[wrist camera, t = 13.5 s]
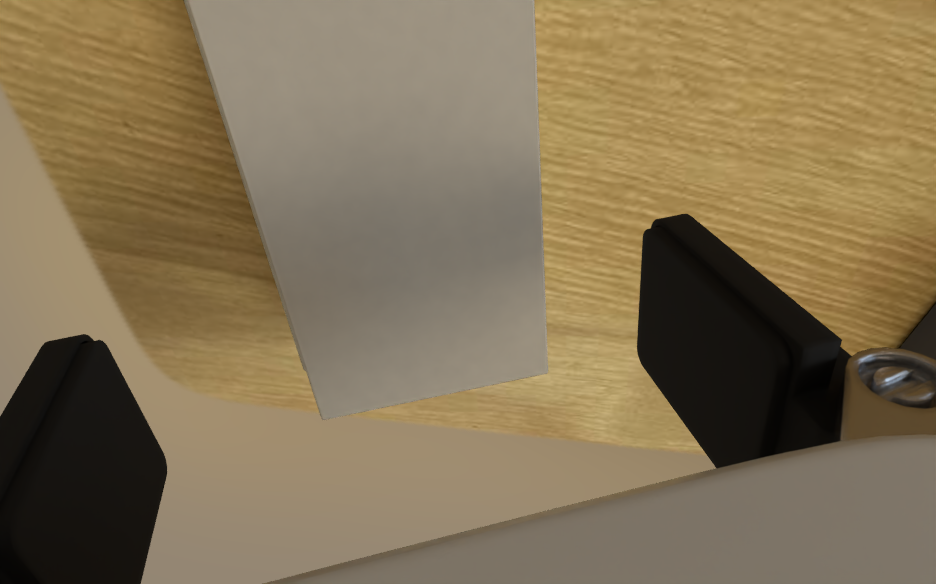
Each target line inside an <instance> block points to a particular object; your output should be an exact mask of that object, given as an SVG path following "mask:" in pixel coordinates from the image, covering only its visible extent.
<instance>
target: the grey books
mask: <svg viewBox="0 0 936 584" xmlns="http://www.w3.org/2000/svg"><path fill="white" fill-rule="evenodd" d="M899 349H905V350H908V351H912V352H916V353H920V354H923V355H925V356H928V357H930V358H932V359H935V360H936V304H935V305H934V306H933V308H932V309H931V310H930V311H929V313H928V314H927V315H926V316H925V317H924V319H923V320H922V321H921V322H920V324H919V325H918V326H917V327H916V328H915V330H914V331H913V332H912V333H911V335H910V336H909V337H908V338H907V339H906V341H905V342H904V343H903V344H902V346H901V347H900V348H899Z"/></svg>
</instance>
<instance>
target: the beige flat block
mask: <svg viewBox="0 0 936 584" xmlns="http://www.w3.org/2000/svg"><path fill="white" fill-rule="evenodd" d="M187 3H188V6H189V9H190V12H191V15H192V18H193V21H194V24H195V28H196V31H197V34H198V37H199V40H200V43H201V46H202V49H203V52H204V55H205V59H206V62H207V65H208V68H209V71H210V74H211V77H212V80H213V83H214V86H215V90H216V93H217V96H218V99H219V102H220V105H221V108H222V111H223V114H224V117H225V121H226V124H227V127H228V130H229V133H230V136H231V139H232V142H233V145H234V148H235V152H236V155H237V158H238V161H239V164H240V167H241V170H242V173H243V176H244V180H245V183H246V186H247V189H248V192H249V195H250V198H251V201H252V204H253V207H254V211H255V214H256V217H257V220H258V223H259V226H260V229H261V232H262V235H263V238H264V242H265V245H266V248H267V251H268V254H269V257H270V260H271V263H272V266H273V269H274V273H275V276H276V279H277V282H278V285H279V288H280V291H281V294H282V297H283V301H284V304H285V307H286V310H287V313H288V316H289V319H290V322H291V325H292V328H293V332H294V335H295V338H296V341H297V344H298V347H299V350H300V353H301V356H302V359H303V363H304V366H305V369H306V372H307V375H308V378H309V381H310V384H311V387H312V390H313V394H314V397H315V400H316V403H317V406H318V409H319V412H320V415H321V418H322V420H326V419H331V418H336V417H341V416H346V415H350V414H355V413H360V412H365V411H370V410H374V409H379V408H384V407H389V406H394V405H398V404H403V403H408V402H413V401H418V400H422V399H427V398H432V397H437V396H441V395H446V394H451V393H456V392H461V391H465V390H470V389H475V388H480V387H485V386H489V385H494V384H499V383H504V382H509V381H513V380H518V379H523V378H528V377H532V376H537V375H542V374H547V373H548V357H547V330H546V304H545V277H544V250H543V223H542V197H541V170H540V143H539V117H538V90H537V63H536V36H535V10H534V0H187Z"/></svg>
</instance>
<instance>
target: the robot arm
mask: <svg viewBox="0 0 936 584" xmlns="http://www.w3.org/2000/svg"><path fill="white" fill-rule="evenodd" d="M841 341H842V340H841V339H840V338H839V337H838V336H837V335H835V334H834V333H833V332H832V331H830V330H829V329H828V328H827V327H826V326H824V325H823V324H822V323H821V322H819V321H818V320H817V319H816V318H815V317H813V316H812V315H811V314H810V313H808V312H807V311H806V310H805V309H804V308H802V307H801V306H800V305H799V304H797V303H796V302H795V301H794V300H793V299H791V298H790V297H789V296H788V295H787V294H785V293H784V292H783V291H782V290H780V289H779V288H778V287H777V286H776V285H774V284H773V283H772V282H771V281H769V280H768V279H767V278H766V277H765V276H763V275H762V274H761V273H760V272H758V271H757V270H756V269H755V268H754V267H752V266H751V265H750V264H749V263H747V262H746V261H745V260H744V259H743V258H741V257H740V256H739V255H738V254H737V253H735V252H734V251H733V250H732V249H730V248H729V247H728V246H727V245H726V244H724V243H723V242H722V241H721V240H719V239H718V238H717V237H716V236H715V235H713V234H712V233H711V232H710V231H708V230H707V229H706V228H705V227H704V226H702V225H701V224H700V223H699V222H697V221H696V220H695V219H694V218H693V217H691V216H690V215H688V214H681V215H676V216H671V217H666V218H661V219H656V220H655V221H654V222H653V224H652V226H651V229H647V230H646V231H645V232H644V234H643V245H642V264H641V283H640V301H639V320H638V339H637V351H638V356H639V359H640V362H641V364H642V366H643V367H644V369H645V370H646V371H647V373H648V374H649V375H650V377H651V378H652V380H653V381H654V382H655V384H656V385H657V387H658V388H659V389H660V391H661V392H662V393H663V395H664V396H665V398H666V399H667V400H668V402H669V403H670V404H671V406H672V407H673V409H674V410H675V411H676V413H677V414H678V416H679V417H680V418H681V420H682V421H683V422H684V424H685V425H686V427H687V428H688V429H689V431H690V432H691V434H692V435H693V436H694V438H695V439H696V440H697V442H698V443H699V445H700V446H701V447H702V449H703V450H704V451H705V453H706V454H707V456H708V457H709V458H710V460H711V461H712V463H713V464H714V465H715V467H716V468H717V469H713V470H708V471H704V472H700V473H696V474H691V475H687V476H683V477H679V478H675V479H671V480H668V481H663V482H659V483H656V484H651V485H647V486H643V487H639V488H635V489H631V490H627V491H624V492H619V493H615V494H612V495H607V496H603V497H599V498H595V499H591V500H587V501H583V502H579V503H576V504H572V505H567V506H563V507H560V508H555V509H552V510H547V511H543V512H540V513H535V514H532V515H528V516H524V517H520V518H516V519H512V520H509V521H504V522H500V523H497V524H492V525H489V526H485V527H481V528H477V529H473V530H469V531H465V532H461V533H457V534H453V535H449V536H445V537H442V538H438V539H434V540H430V541H426V542H422V543H418V544H414V545H410V546H407V547H402V548H399V549H395V550H391V551H387V552H383V553H379V554H375V555H372V556H367V557H364V558H360V559H356V560H352V561H348V562H344V563H340V564H337V565H333V566H329V567H325V568H321V569H318V570H314V571H310V572H306V573H302V574H299V575H295V576H291V577H287V578H283V579H280V580H275V581H271V582H268V583H264V584H936V360H935V359H932V358H930V357H928V356H925V355H923V354H920V353H916V352H912V351H908V350H905V349H897V348H887V347H884V348H870V349H867V350H864V351H860V352H857V353H856V354H855V355H853V356H851V355H849V354H848V353H847V352H846V351H845V350H843V349H842V348H841V347H840V345H841ZM166 476H167V464H166V459H165V456H164V453H163V451H162V449H161V448H160V446H159V444H158V442H157V440H156V438H155V436H154V435H153V432H152V430H151V428H150V427H149V425H148V423H147V421H146V419H145V417H144V415H143V413H142V411H141V410H140V407H139V406H138V404H137V402H136V400H135V398H134V396H133V394H132V392H131V390H130V388H129V387H128V385H127V383H126V381H125V379H124V377H123V375H122V373H121V372H120V369H119V367H118V366H117V364H116V362H115V360H114V358H113V356H112V354H111V352H110V350H109V348H108V347H107V345H106V344H105V343H104V342H103V341H101V340H98V341H94V340H93V339H92V338H91V337H90V336H88V335H85V334H83V335H78V336H73V337H68V338H63V339H58V340H53V341H48V342H46V343H44V345H43V346H42V347H41V349H40V350H39V352H38V354H37V356H36V357H35V359H34V361H33V362H32V364H31V365H30V367H29V369H28V371H27V372H26V374H25V376H24V377H23V379H22V381H21V383H20V384H19V386H18V387H17V389H16V391H15V393H14V394H13V396H12V398H11V399H10V401H9V403H8V404H7V406H6V408H5V410H4V411H3V413H2V415H1V416H0V584H141V580H142V576H143V571H144V567H145V563H146V559H147V555H148V550H149V546H150V542H151V538H152V534H153V530H154V526H155V522H156V517H157V514H158V509H159V505H160V501H161V497H162V492H163V488H164V484H165V480H166Z"/></svg>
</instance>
